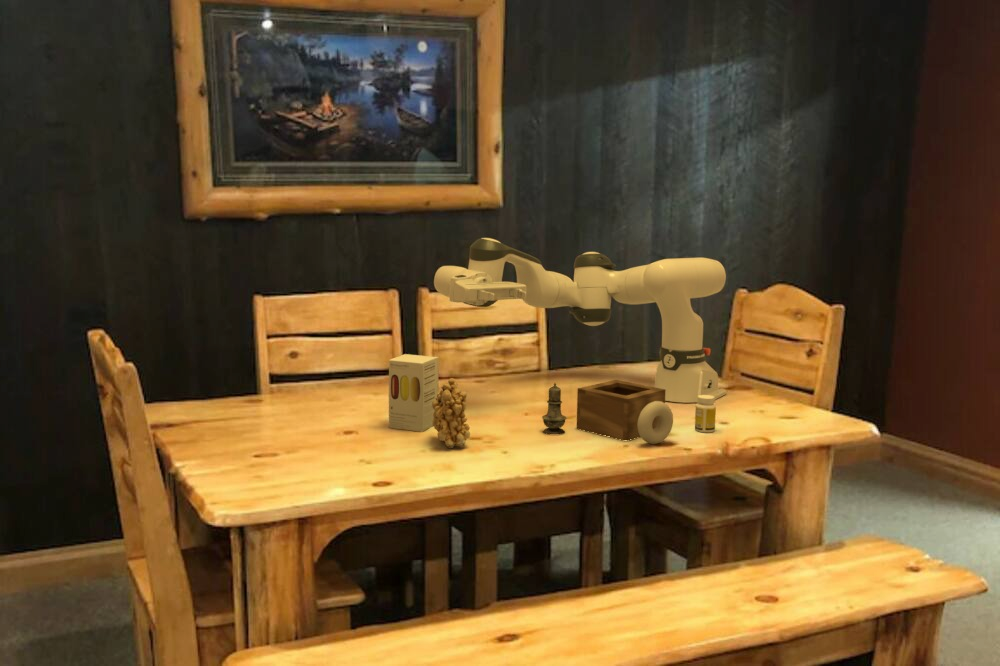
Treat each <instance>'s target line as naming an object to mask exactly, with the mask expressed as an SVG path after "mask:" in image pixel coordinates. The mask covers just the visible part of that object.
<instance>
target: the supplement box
mask: <svg viewBox="0 0 1000 666" xmlns="http://www.w3.org/2000/svg"><path fill="white" fill-rule="evenodd" d="M439 364H440V362H439V356H428V355H418V354H410V353H408V354H407V353H404V354H402V355H399V356H397V357H394V358H390V359H389V360H388V428H389V429H397V430H404V431H405V430H406V431H412V432H421V433H423V432H425V431H427V430H429V429H431V428H432V427H434V425H433V424H432V422H433V419H434V417H433V414H434V411H435V410H434V409H433V407H432V402H433V401H434V400H436V398H437V395H438V394H439V388H440V387H439Z"/></svg>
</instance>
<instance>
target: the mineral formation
mask: <svg viewBox="0 0 1000 666" xmlns="http://www.w3.org/2000/svg"><path fill="white" fill-rule="evenodd" d="M440 388H441V389H440V391H439V392H438V395H437V398H436V400H434V401H433V402H432V407H433V409H434V410H435V411H434V414H433V417H434V419H433V422H432V424H433V425H434V426H433V428H434V429H435V430H436V431H437V438H438V439H439V441H443V442H445V446H447V448H449V449H452V448H455V446H457V447H461V446H462V445H463V446H464V445H466V443H467V440H468V439H470V438H471V432H470V428H471V427H470V425H469V424H468V423H466V422H467V421H468V418H467V417H466V412H465V411H466V407H467V405H466V403H467V396H468V393H467V392H466V391H462V390H461V389H459V388H458V384H457V383H456V380H455V378H453V377H450V378H449V379H448V383H444V384H443V385H442V386H441V387H440Z"/></svg>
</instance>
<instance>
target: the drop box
mask: <svg viewBox="0 0 1000 666" xmlns="http://www.w3.org/2000/svg"><path fill="white" fill-rule="evenodd" d="M665 392H666V390H665V389H660V388H655V387H654V386H650V385H644V384H639V383H635V382H634V383H633V382H629V381H624V380H619V379H614V380H609V381H608V380H607V381H605V382H601V383H596V384H595V383H594V384H592V385H588V386H582V387H578V388H577V393H576V394H577V396H576V397H577V398H576V401H577V402H576V429H577V430H579V429H581V431H583V430H585V431H584V432H587V431H589V432H588V433H591V432H594V433H593V434H595V433H597V434H596V435H599V434H601V435H600V436H603V435H606V436H605V437H607V436H610V437H609V438H611V437H613V438H612V439H615V438H617V439H616V440H619V439H621V440H620V441H623V440H629V441H631V440H630V439H632V440H635V439H634V438H636V439H638V438H637V437H639V438H641V437H640V435H639V432H638V426H637V424H638V418H639V415H640V413H641V411H642V410H643V408H644V407H645V406H646V405H648V404H649V403H651V402H654V401H661V402H663V403H665V404H666V400H665ZM658 421H659V418H658V416H656V417H655V418H654V420H653V423H652V428H653V429H655V428H656V427H657V425H658Z"/></svg>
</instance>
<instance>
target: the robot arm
mask: <svg viewBox="0 0 1000 666" xmlns="http://www.w3.org/2000/svg"><path fill="white" fill-rule="evenodd" d="M506 262H507V263H510V264H512V265H513V266H514V269H515V272H516V273H515V274H516V282H513V281H503V274H504V267H505V264H506ZM615 267H617V265H616V264H615V263H613V262H612V261H611V260H610V258H609V257H607V256H606V255H605V254H604V253H599V252H598V251H597V252H596V251H586V252H584V253H582V254H579V255H577V256H576V257H575V259H574V263H573V269H574V274H573V280H572V279H571V278H570V277H569V276H567V275H565V274H562V273H559V272H556V271H552V270H551V271H550V270H546V269H545V268H544V267H543V264H542V262H541V260H540V259H539V258H537V257H535V256H532V255H530V254H528V253H526V252H523V251H521V250H519V249H516V248H513V247H511V246H508V245H506V244H504V243H502V242H500V241H499V240H497V239H494V238H491V237H481V238H478V239H476V240H475V241H474V242H472V244H471V245H470V246H469V260H468V268H466V267H463V266H457V265H442V266H441V267H438V269H437V270H436V272H435V275H434V279H433V286H434V288H435V290H436V291H437V293H439V294H441V295H443V296H445V297H447V298H449V302H451V303H462V304H465V305H469V306H473V307H477V308H478V307H479V308H488V307H491V306H493V305H495V303H496V302H498V301H502V300H504V301H505V300H522V301H523V303H525V304H526V305H528V306H529V307H534V308H540V309H554V308H561V307H570V308H571V310H569V311H568V312H569V314H571V315H573V316H574V319H575V320H577V321H578V322H579V323H581V324H584V325H587V326H588V327H589V326H591V327H595V326H600V325H603V324H605V323H607V322H608V321H609V320H610V319H611V315H612V314H611V313H612V308H611V305H612V299H614V300H615V301H616V302H618V303H619V304H620V303H621V304H624V305H644V304H645V305H646V304H652V303H656V305H657V307H658V309H659V312H660V315H661V346H660V348H659V360H660V362H659V363H658V364H657V366H656V372H655V377H654V378H655V379H654V385H653V387H655V388H660V389H665V390H666V392H665V402H671V403H673V402H674V403H684V404H685V403H698V402H697V400H698V396H699V395H711V396H714V397H715V400H718V399H719V398H721V397H723V396H725V395H727V389H724V388H720V387H719V375H718V374H719V373H718V372H717V371H715V369H714V368H712V367H711V366H710V364H708V362H707V360H706V359H707V358H706V356H710V355H711V350H712V349H711V348H710V347H703V341H704V322H703V319H702V317H701V316H700V315H698V313H696V312H694V310H693V307H692V304H691V303H692V302H691V299H698V298H706V297H709V296H712V295H715V294H717V293H719V292H721V291H722V290H723V288H724V287H725V285H726V279H727V273H726V270H725V267H724V266H723V264H722V263H721V262H720V261H718V260H716V259H712V258H707V257H683V258H682V257H680V258H664V259H660V260H656V261H654V262H652V263H649V264H645V265H639V266H633V267H630V268H628V269H627V268H626V269H624V270H623V269H622V270H614V269H613V268H615Z"/></svg>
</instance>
